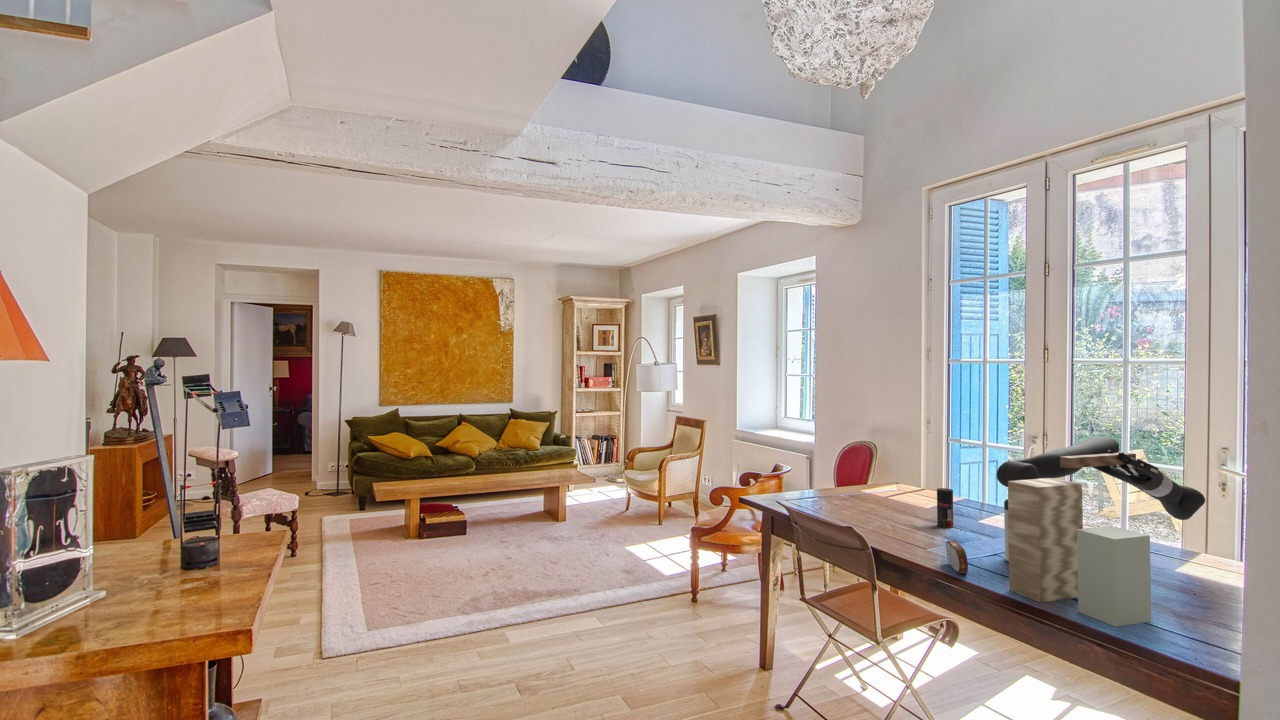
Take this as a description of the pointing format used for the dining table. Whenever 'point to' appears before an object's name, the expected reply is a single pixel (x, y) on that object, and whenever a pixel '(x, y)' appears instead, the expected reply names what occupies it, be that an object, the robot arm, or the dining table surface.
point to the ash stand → (1044, 538)
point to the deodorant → (945, 508)
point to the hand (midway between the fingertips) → (1113, 454)
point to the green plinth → (1114, 575)
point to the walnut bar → (1092, 460)
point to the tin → (957, 557)
